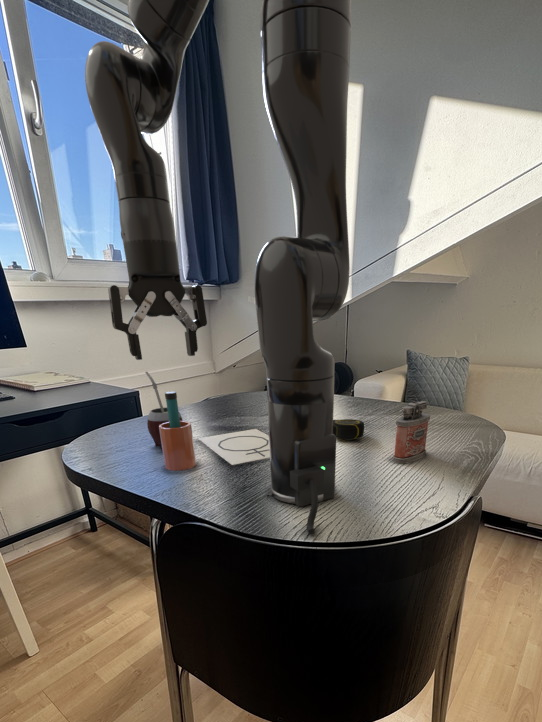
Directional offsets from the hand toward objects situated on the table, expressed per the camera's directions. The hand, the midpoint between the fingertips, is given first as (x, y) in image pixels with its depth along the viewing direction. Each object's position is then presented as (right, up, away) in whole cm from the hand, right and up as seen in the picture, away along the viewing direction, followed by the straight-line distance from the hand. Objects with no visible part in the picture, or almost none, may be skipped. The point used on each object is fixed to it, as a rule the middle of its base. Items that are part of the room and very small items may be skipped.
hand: (165, 357), depth 67 cm
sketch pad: (+11, -12, +18) cm, 25 cm away
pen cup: (+1, -17, +8) cm, 19 cm away
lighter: (+43, -16, +9) cm, 46 cm away
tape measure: (+33, -10, +22) cm, 41 cm away
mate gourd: (-5, -13, +19) cm, 23 cm away
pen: (+1, -17, +8) cm, 19 cm away
